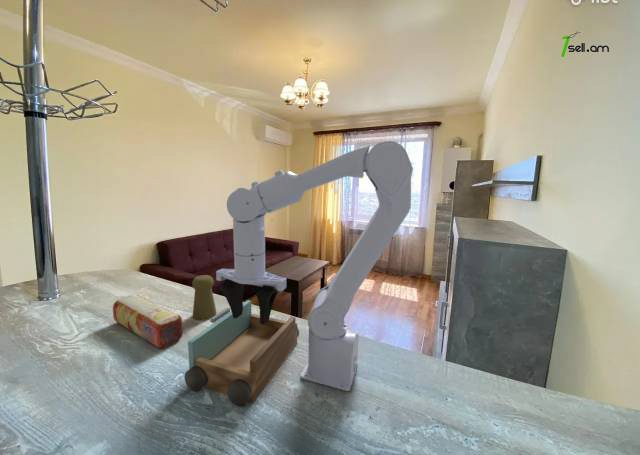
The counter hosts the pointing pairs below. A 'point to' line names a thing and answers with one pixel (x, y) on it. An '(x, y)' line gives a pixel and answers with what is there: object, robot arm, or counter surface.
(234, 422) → the counter surface
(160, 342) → the snack package
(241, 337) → the cart
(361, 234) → the robot arm
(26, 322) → the counter surface
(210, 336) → the tailgate
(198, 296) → the olive tapered cylinder
